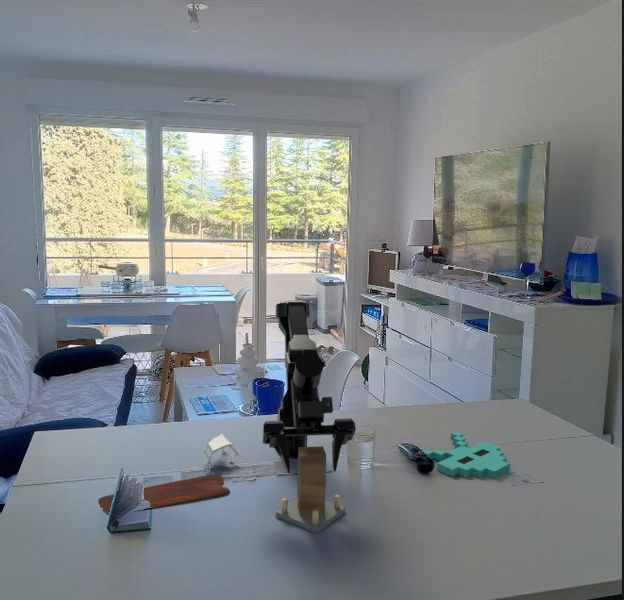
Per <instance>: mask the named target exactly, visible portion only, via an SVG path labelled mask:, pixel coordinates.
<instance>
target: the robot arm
mask: <svg viewBox="0 0 624 600" xmlns="http://www.w3.org/2000/svg"><path fill="white" fill-rule="evenodd" d="M310 311H311V310H310V303H308V302H306V301H304V300H300V299H298V300H296V299H293V300H292V299H288V300H287V301H283V300H282V301H281V300H280V303H276V305H275V319H276V320H277V321H278V328H279V330H280V331H281V333H282V335H284V347H285V348H284V349H285V350H284V351H285V353H284V367H285V376H286V378H285V379H286V392H285V394H284V396H283V397H282V400H281V403H280V407H278V411H277V420H269V421H268V420H266V421H265V422H264V423H263V425H262V444H264V445H269V448H271V449H272V448H274V450H275V452H276V453H277V455H278V456H279V458H280V460H281V462H282V464H283V467H284V468H285V471H286V473H287V474H288V475H289V474H291V464H290V457H291V458H295V459H298V447H308V436H328V435H329V436H330V435H331V436H332V442H331V452H332V453H331V454H332V455H331V458H332V462H331V463H332V469H333V470H332V471H333V472H337V469H338V464H339V463H338V462H339V460H340V459H339V458H340V453H341V450H342V449H341V448H342V446H343V445H347V443H348V442H349V441H352V440H353V438H354V435H355V434H356V422H355V421H354V419H352V418H335V419H334V421H333V422H334V423H333V424H327V425H324V424H322V423H324V422H325V414H332V413H333V412H334V406H333V405H334V404H333V397H332V396H323V397H321V400H320V395H319V393H320V392H319V385H320V383H321V378H322V375H323V370H324V367H325V366H326V361H325V359H324V357H323V356H322V354H321V352H320V351H318V348H317V344H316V342H315V341H314V340H313V339H311V338H310V335H309V328H308V323H307V320H308V319H310Z"/></svg>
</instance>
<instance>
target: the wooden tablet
mask: <svg viewBox="0 0 624 600" xmlns="http://www.w3.org/2000/svg"><path fill="white" fill-rule="evenodd" d="M224 485H225V480H224V478H223V476H222V475H220V474H218V473H217V474H207V475H202V476H197V477H192V478H191V477H190V478H187V479H181V480H176V481H175V480H174V481H171V482H166V483H165V482H163V483H161V484H156V485H151V486H146V487H143V488H144V499H145V500H147V501H149V502H150V504H151V507H152V509H156V508H157V509H158V508H160V507H162V508H163V507H166V506H171V505H175V504H182V503H189V502H193V501H199V500H206V499H212V498H217V497H222V496H226V495H229V494H230V493H231V490H230V489H229V488H228V487H226V486H224ZM114 494H115V493H113V494H109V495H105V496H102V497H99V498H98V501H97V502H98V505H99V507H100V508H101V509H102V512H103V513H104V514H105V515H106V516H110V515H109V512H110V507H111V503H112V500H113V497H114Z"/></svg>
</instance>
